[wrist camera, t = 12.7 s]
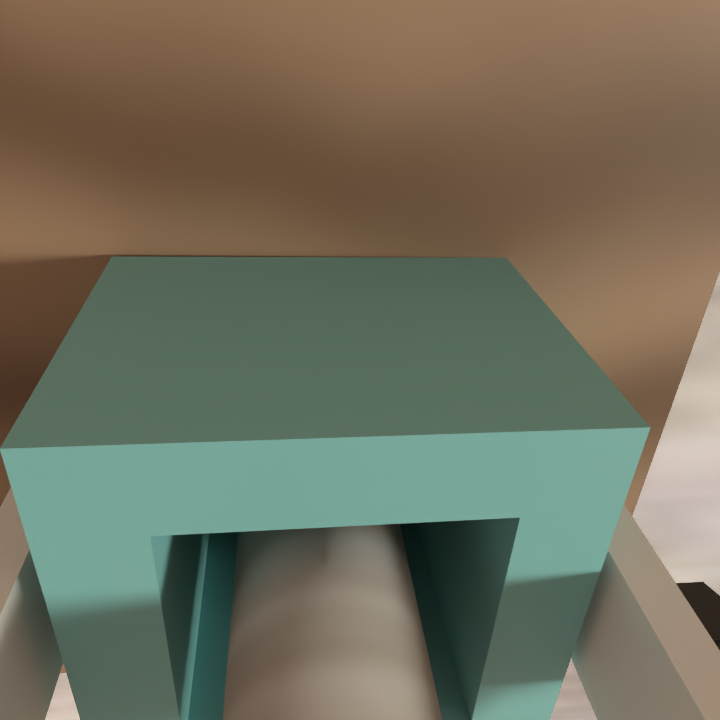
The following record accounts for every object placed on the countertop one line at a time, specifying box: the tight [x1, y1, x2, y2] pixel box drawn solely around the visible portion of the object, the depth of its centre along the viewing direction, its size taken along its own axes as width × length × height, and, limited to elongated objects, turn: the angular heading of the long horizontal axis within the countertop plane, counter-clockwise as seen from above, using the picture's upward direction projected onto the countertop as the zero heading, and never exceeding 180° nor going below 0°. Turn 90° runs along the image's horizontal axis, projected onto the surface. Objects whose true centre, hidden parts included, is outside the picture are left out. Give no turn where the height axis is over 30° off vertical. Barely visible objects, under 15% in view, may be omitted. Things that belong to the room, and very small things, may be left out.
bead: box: [0, 256, 650, 720], centre depth 12 cm, size 8×8×6 cm
